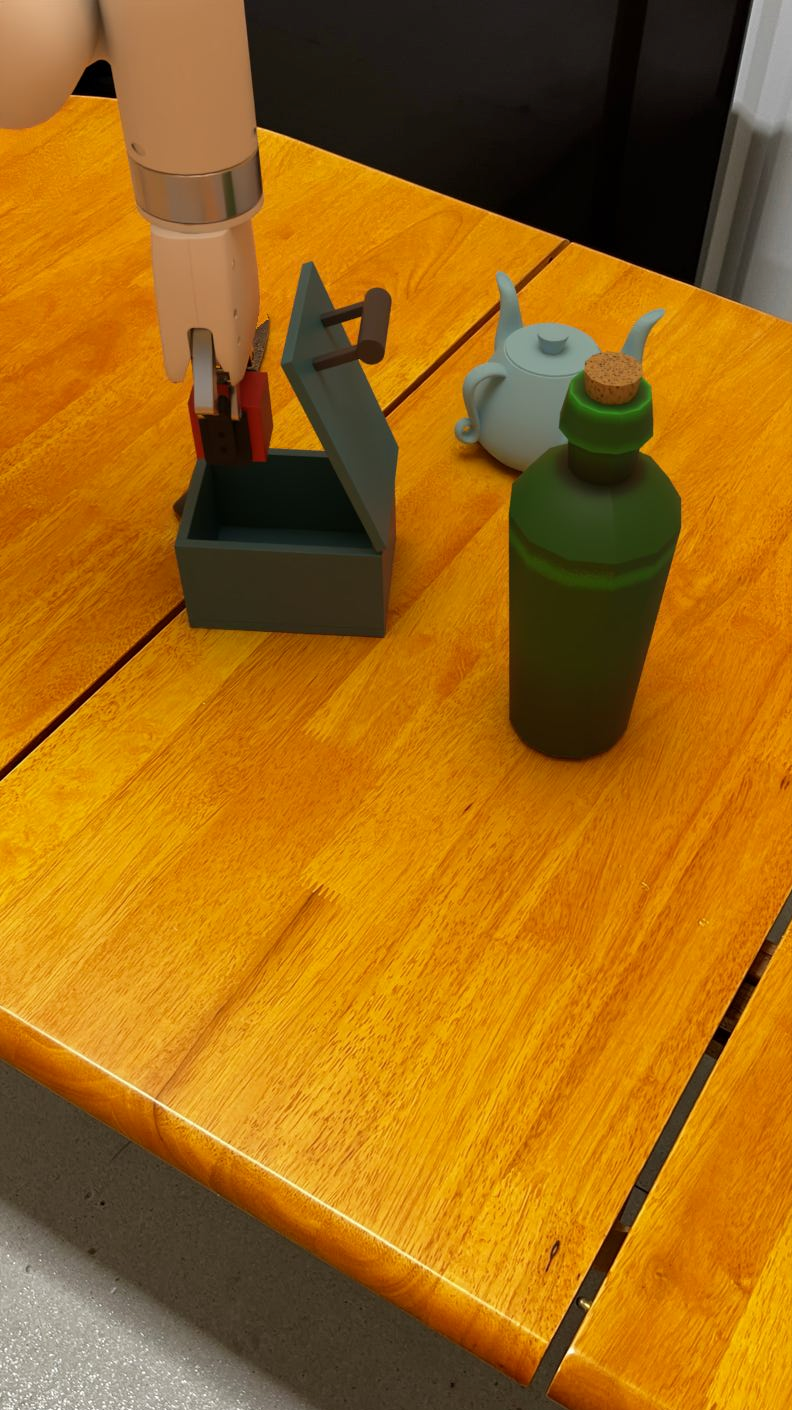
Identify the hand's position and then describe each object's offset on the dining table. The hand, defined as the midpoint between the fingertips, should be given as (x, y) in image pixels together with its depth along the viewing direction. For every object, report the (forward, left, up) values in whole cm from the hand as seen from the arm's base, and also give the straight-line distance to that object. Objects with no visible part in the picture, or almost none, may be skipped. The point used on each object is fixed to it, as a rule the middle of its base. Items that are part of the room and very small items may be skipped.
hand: (234, 439), depth 91 cm
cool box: (+3, 0, -13) cm, 13 cm away
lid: (+8, 0, +3) cm, 8 cm away
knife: (-5, +21, -13) cm, 25 cm away
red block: (0, 0, 0) cm, 0 cm away
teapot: (+23, +20, -13) cm, 33 cm away
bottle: (+24, -13, -13) cm, 30 cm away
